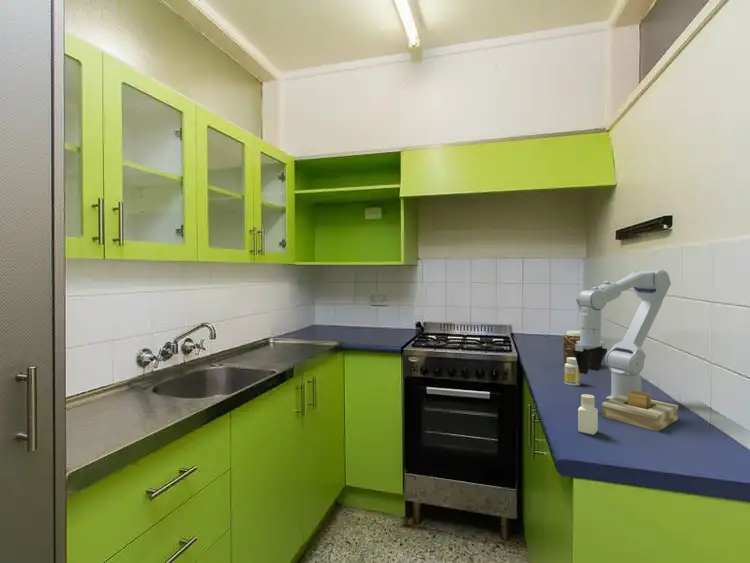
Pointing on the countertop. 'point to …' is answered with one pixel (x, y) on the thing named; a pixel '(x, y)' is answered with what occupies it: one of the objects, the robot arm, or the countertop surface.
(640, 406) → the ochre peg
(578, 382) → the supplement bottle
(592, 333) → the robot arm
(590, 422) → the pepper shaker
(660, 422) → the posting box
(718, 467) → the countertop surface
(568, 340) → the jar
